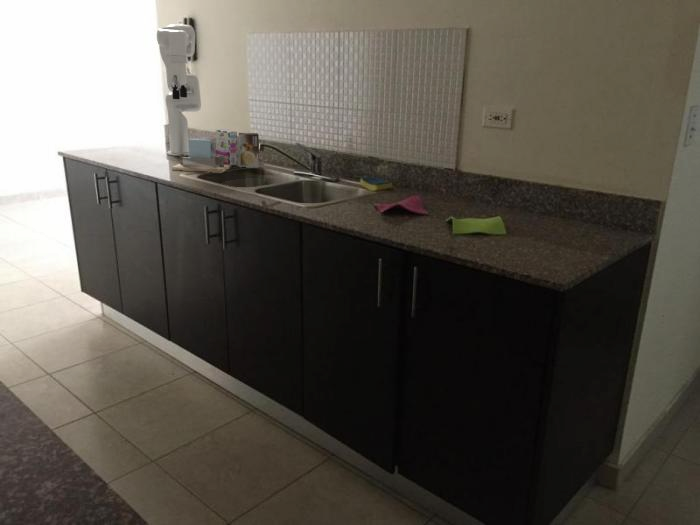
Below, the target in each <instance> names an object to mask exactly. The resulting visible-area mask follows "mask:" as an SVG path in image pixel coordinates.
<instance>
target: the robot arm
mask: <svg viewBox="0 0 700 525" xmlns="http://www.w3.org/2000/svg"><path fill="white" fill-rule="evenodd" d="M156 40H157V41H156V42H157V43H158V46H159V53H160V56H161V59H162V61H163V63H164V66H165V71H166V72H165V74H166V84H167V89H168V91H170V92H168V93H167V94H166V95H165V106H166V110H167V118H168V132H169V133H168V134H169V136H168V137H169V150H168V151H167V152H166V153H167V155H169V156H176V157H180V153H183V154H184V157H186V156H188V155H189V126H188V119H187V117H186V116H185V115H184V112H187V113H188V112H192V113H193V112H199V111H200V110H201V107H202V100H201V90H200V89H201V88H200V82H199V81H200V80H199V78H198V76H197V75H195V74H191V73H187V65H186V64H188V59H187V58H188V57H189V58H191V57H193V56H194V55H195V51H196V50H195V48H196V31H195V29H194V28H193V26H192V25H191V24H177V23H173V24H168V25H167V26H165V27H158V28H157V31H156Z"/></svg>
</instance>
